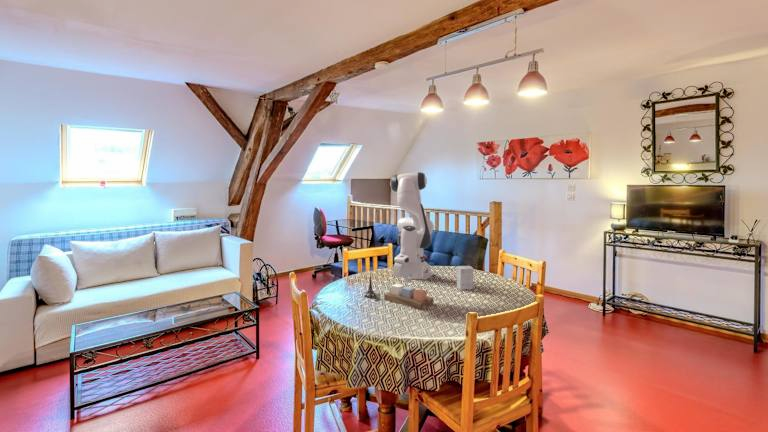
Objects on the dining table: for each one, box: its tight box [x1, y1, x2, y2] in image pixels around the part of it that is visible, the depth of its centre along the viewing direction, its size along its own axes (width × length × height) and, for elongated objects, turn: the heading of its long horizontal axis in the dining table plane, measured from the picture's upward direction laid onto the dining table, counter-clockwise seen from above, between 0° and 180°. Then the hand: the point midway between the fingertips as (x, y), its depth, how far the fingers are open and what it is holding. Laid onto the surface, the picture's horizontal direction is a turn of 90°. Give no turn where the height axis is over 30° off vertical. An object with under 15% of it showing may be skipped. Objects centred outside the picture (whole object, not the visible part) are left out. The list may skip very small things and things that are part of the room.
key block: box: [383, 291, 434, 311], centre depth 215 cm, size 12×24×3 cm, turn 50°
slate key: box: [402, 285, 416, 299], centre depth 215 cm, size 5×5×5 cm
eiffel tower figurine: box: [363, 275, 381, 302], centre depth 222 cm, size 15×10×13 cm
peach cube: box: [413, 288, 428, 302], centre depth 210 cm, size 5×5×5 cm
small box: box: [456, 265, 474, 291], centre depth 238 cm, size 8×6×13 cm
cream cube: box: [390, 283, 405, 296], centre depth 220 cm, size 5×5×5 cm
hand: (408, 282), depth 214 cm, fingers closed
